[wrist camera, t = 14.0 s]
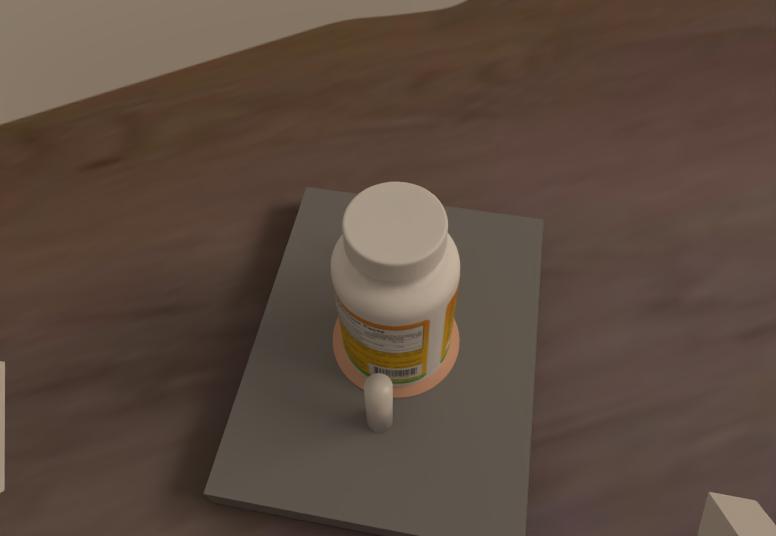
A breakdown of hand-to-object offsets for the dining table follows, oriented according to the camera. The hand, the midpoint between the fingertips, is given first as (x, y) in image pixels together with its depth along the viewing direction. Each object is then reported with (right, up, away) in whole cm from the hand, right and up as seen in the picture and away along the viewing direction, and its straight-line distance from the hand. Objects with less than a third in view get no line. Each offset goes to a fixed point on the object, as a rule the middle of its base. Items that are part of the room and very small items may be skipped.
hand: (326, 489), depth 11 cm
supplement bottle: (+2, 0, +20) cm, 20 cm away
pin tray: (+2, 0, +21) cm, 21 cm away
